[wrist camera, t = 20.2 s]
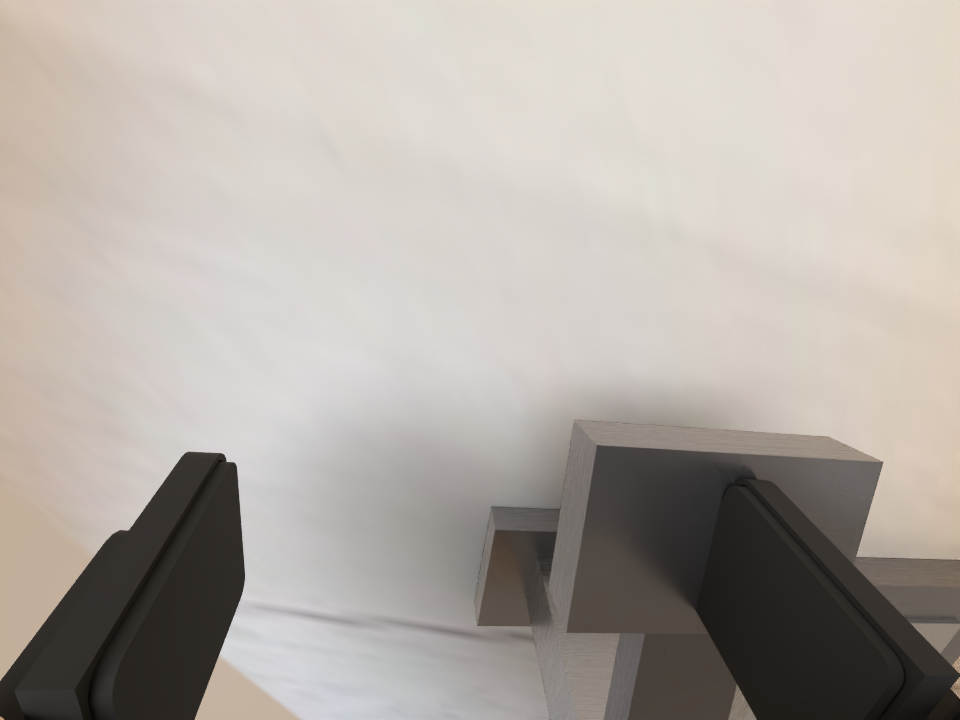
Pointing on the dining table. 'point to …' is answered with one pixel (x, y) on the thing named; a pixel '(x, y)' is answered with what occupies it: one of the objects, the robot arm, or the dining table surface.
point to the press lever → (679, 545)
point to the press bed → (590, 656)
